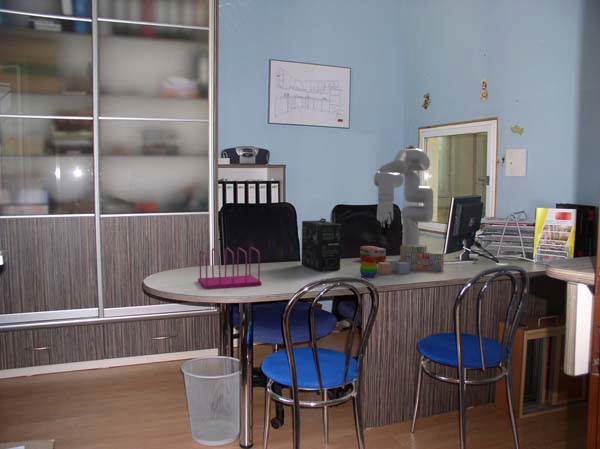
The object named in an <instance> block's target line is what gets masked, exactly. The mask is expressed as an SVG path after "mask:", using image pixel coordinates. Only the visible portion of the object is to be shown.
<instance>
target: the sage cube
mask: <svg viewBox="0 0 600 449" xmlns="http://www.w3.org/2000/svg"><path fill="white" fill-rule="evenodd" d="M385 262H388V263H391V271H395V268H396V262H399V260H397V259H394V258H391V259H390V258H389V259H388V258H387V259H386V260H385Z"/></svg>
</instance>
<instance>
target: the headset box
mask: <svg viewBox="0 0 600 449" xmlns="http://www.w3.org/2000/svg"><path fill="white" fill-rule="evenodd" d="M326 220H327V218H323V217H321V218H320V219H319V220H302V221H301V263H300V264H301V265H302V266H305V267H308V268H310V269H313V270H316V271H318V272H320V273H321V272H332V271H333V272H335V271H339V270H341V241H342V240H341V238H342V237H341V236H342V224H341V223H337V222H336V223H335V222H332V221H326Z"/></svg>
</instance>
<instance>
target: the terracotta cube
mask: <svg viewBox="0 0 600 449" xmlns="http://www.w3.org/2000/svg"><path fill="white" fill-rule="evenodd" d="M377 269H378V273H380V274H390V275H392V274H391V263H388V262H378V263H377Z"/></svg>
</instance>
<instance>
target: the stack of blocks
mask: <svg viewBox="0 0 600 449" xmlns="http://www.w3.org/2000/svg"><path fill="white" fill-rule="evenodd" d="M399 252H400V253H399V254H400V255H399V258H400V260H399V262H407V263H409V269H410V270H411V269H412V270H424V271H435V272H436V271H437V272H443V271H444V262H445V260H444V258H445V257H444V256H445V253H444V252H441V251H427V245H421V244H419V245H405V244H404V245H400V251H399Z"/></svg>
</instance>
